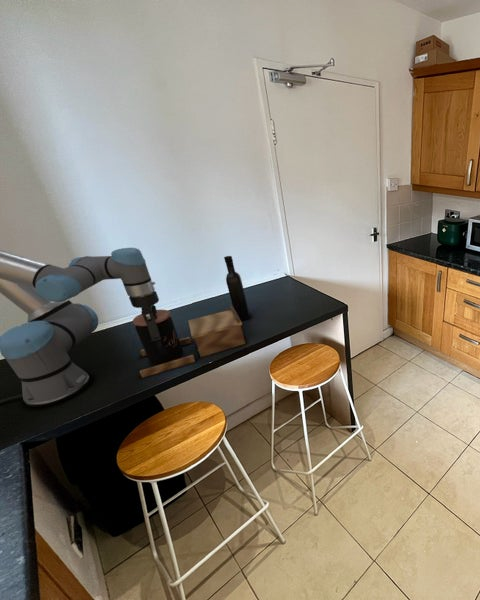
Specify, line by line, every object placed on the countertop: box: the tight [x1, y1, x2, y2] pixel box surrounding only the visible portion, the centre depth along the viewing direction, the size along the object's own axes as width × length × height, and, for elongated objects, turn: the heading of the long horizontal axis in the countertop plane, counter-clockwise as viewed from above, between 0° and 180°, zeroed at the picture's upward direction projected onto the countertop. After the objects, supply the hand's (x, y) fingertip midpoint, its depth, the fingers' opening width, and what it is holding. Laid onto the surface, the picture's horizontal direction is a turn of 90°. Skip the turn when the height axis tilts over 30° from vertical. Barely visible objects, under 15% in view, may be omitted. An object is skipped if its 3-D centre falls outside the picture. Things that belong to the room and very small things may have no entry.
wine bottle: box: [223, 255, 251, 321], centre depth 140 cm, size 6×6×30 cm
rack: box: [139, 304, 246, 379], centre depth 121 cm, size 34×16×12 cm, turn 126°
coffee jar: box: [132, 309, 184, 366], centre depth 115 cm, size 11×11×18 cm
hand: (163, 346), depth 117 cm, fingers closed on coffee jar, 11 cm apart
